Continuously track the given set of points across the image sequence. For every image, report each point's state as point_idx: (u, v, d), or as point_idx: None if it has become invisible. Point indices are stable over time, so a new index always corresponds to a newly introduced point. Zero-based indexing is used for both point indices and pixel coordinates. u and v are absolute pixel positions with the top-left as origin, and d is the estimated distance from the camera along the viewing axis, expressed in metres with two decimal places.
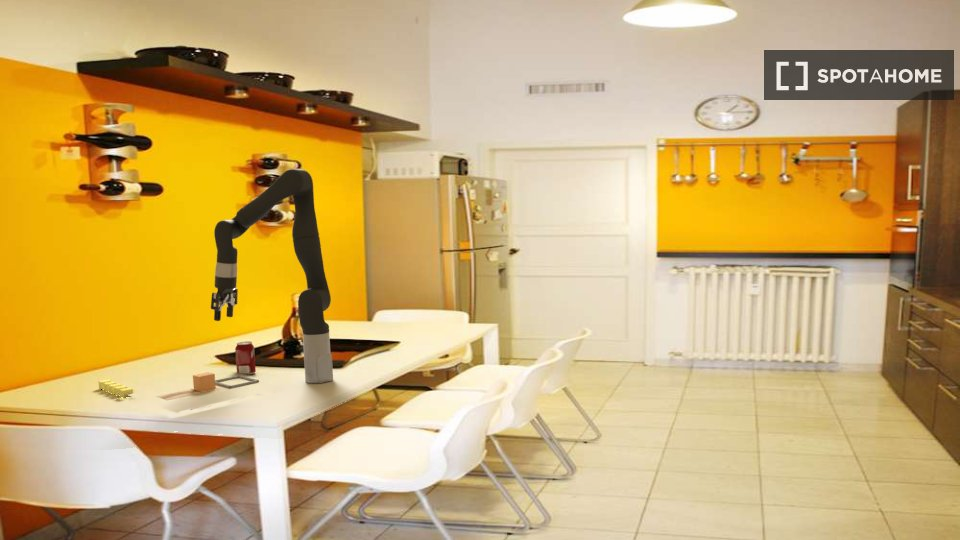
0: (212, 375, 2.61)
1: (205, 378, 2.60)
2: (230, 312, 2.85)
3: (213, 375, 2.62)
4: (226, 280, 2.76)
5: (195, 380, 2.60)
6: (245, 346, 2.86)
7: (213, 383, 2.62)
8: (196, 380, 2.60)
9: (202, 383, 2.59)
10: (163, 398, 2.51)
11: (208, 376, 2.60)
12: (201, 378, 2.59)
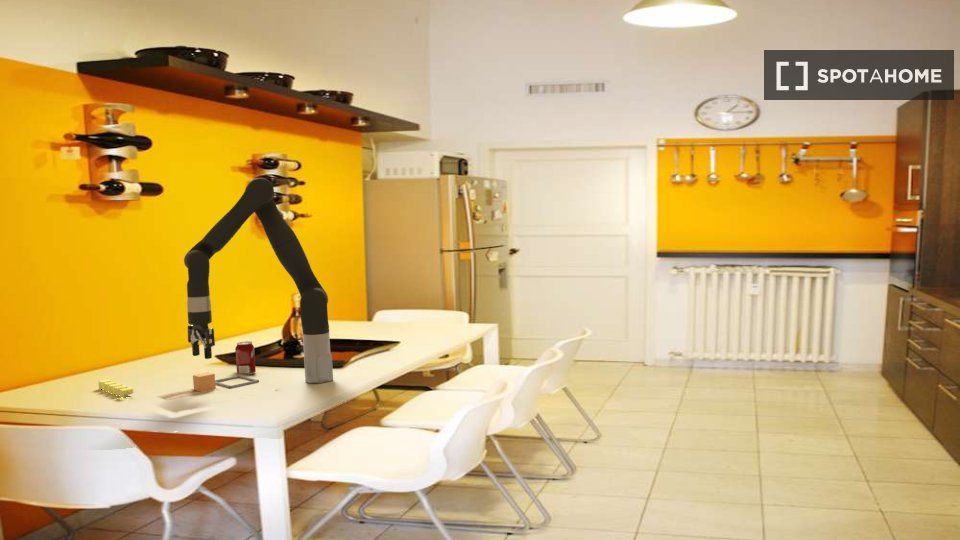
0: (212, 375, 2.61)
1: (205, 378, 2.60)
2: (197, 350, 2.64)
3: (213, 375, 2.62)
4: (209, 313, 2.59)
5: (195, 380, 2.60)
6: (245, 346, 2.86)
7: (213, 383, 2.62)
8: (196, 380, 2.60)
9: (202, 383, 2.59)
10: (163, 398, 2.51)
11: (208, 376, 2.60)
12: (201, 378, 2.59)
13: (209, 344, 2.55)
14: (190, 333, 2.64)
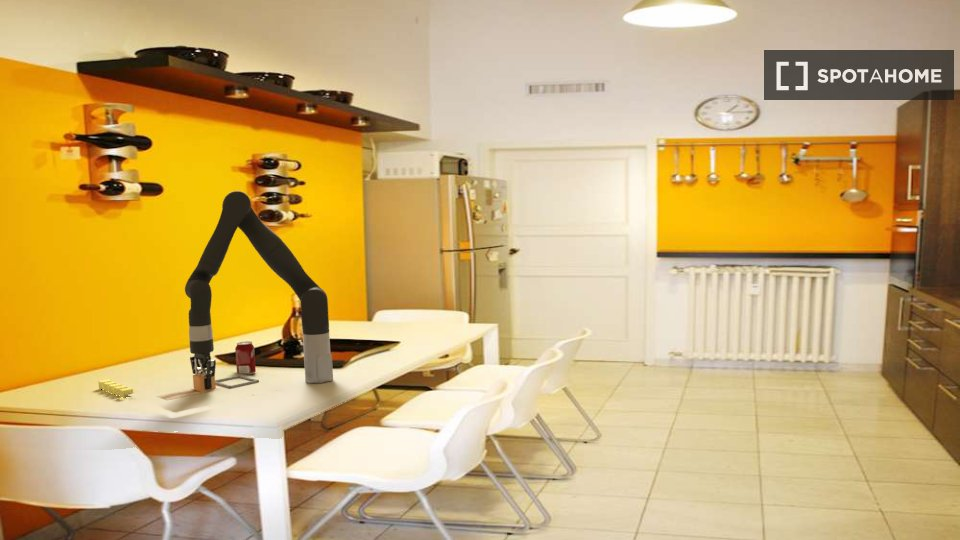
0: None
1: None
2: None
3: None
4: (211, 342, 2.60)
5: (195, 380, 2.60)
6: (245, 346, 2.86)
7: (213, 383, 2.62)
8: (196, 380, 2.60)
9: (202, 383, 2.59)
10: (163, 398, 2.51)
11: None
12: (201, 378, 2.59)
13: (209, 375, 2.57)
14: (193, 364, 2.64)
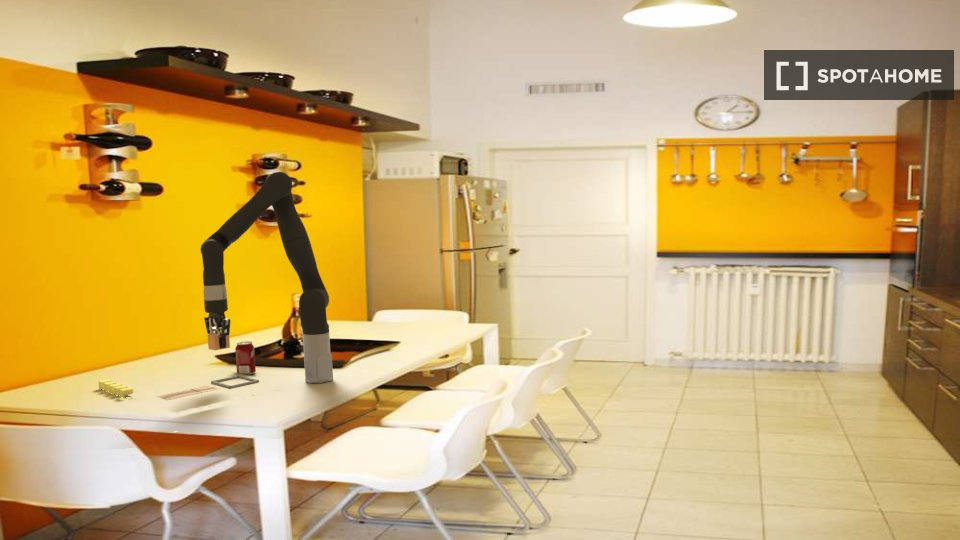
0: None
1: None
2: None
3: None
4: (225, 301, 2.63)
5: (210, 340, 2.63)
6: (245, 346, 2.86)
7: (227, 342, 2.65)
8: (210, 339, 2.63)
9: (216, 342, 2.62)
10: (163, 398, 2.51)
11: None
12: (216, 337, 2.62)
13: (224, 334, 2.60)
14: (208, 324, 2.67)
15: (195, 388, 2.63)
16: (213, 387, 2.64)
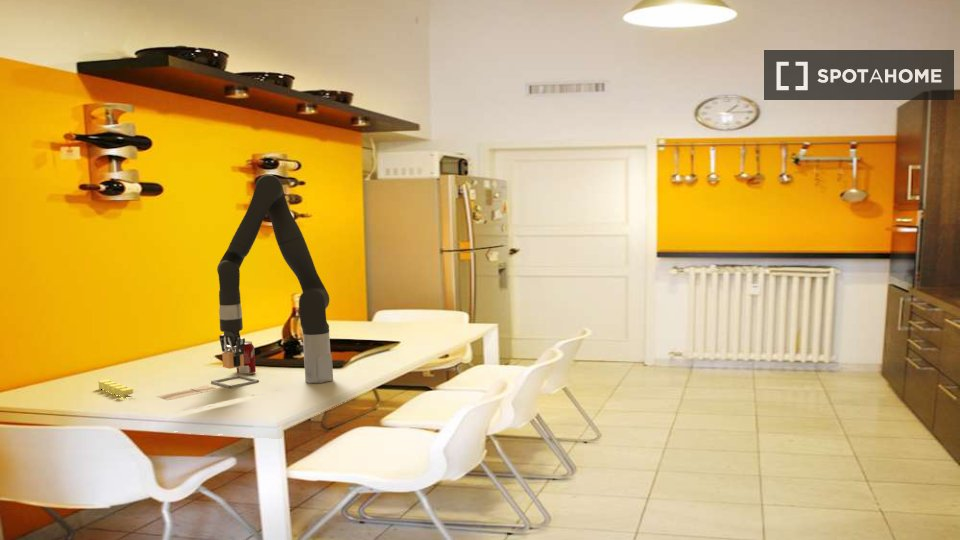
0: None
1: None
2: None
3: None
4: (240, 321, 2.68)
5: (224, 358, 2.68)
6: (245, 346, 2.86)
7: (242, 361, 2.70)
8: (225, 358, 2.68)
9: (231, 361, 2.67)
10: (163, 398, 2.51)
11: None
12: (230, 356, 2.66)
13: (238, 352, 2.65)
14: (223, 342, 2.72)
15: (195, 388, 2.63)
16: (213, 387, 2.64)
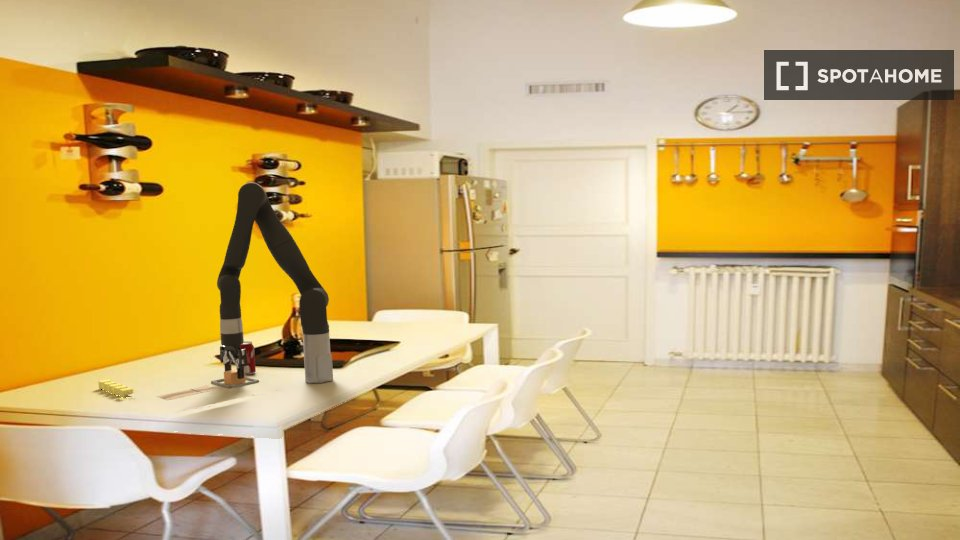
0: None
1: (236, 374, 2.68)
2: None
3: None
4: (241, 335, 2.68)
5: (226, 377, 2.68)
6: (245, 346, 2.86)
7: (243, 379, 2.70)
8: (226, 377, 2.68)
9: (232, 379, 2.67)
10: (163, 398, 2.51)
11: None
12: (232, 374, 2.67)
13: (242, 365, 2.64)
14: (222, 354, 2.73)
15: (195, 388, 2.63)
16: (213, 387, 2.64)
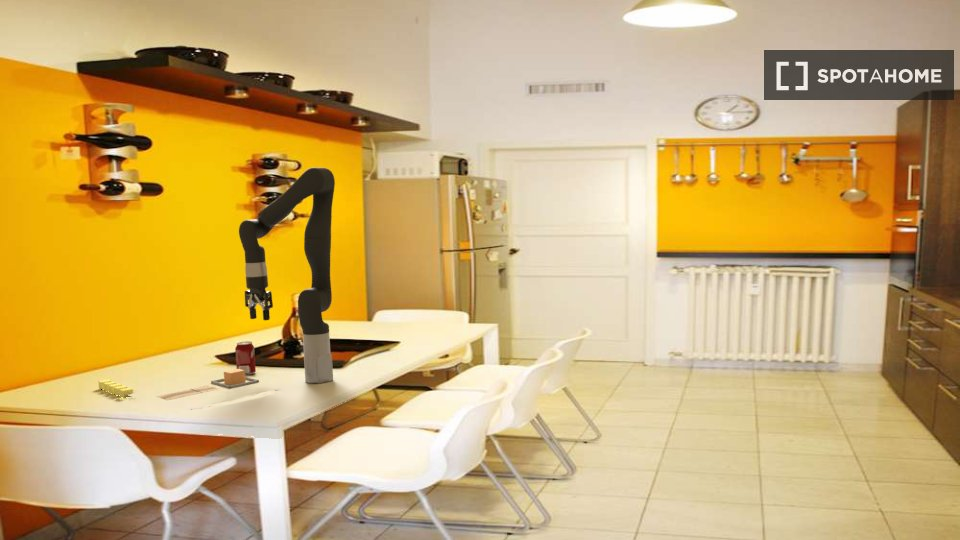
0: (242, 371, 2.70)
1: (236, 374, 2.68)
2: (254, 313, 2.83)
3: (243, 371, 2.70)
4: (266, 278, 2.78)
5: (226, 377, 2.68)
6: (245, 346, 2.86)
7: (243, 379, 2.70)
8: (226, 377, 2.68)
9: (232, 379, 2.67)
10: (163, 398, 2.51)
11: (239, 372, 2.69)
12: (232, 374, 2.67)
13: (268, 306, 2.74)
14: (247, 298, 2.82)
15: (195, 388, 2.63)
16: (213, 387, 2.64)
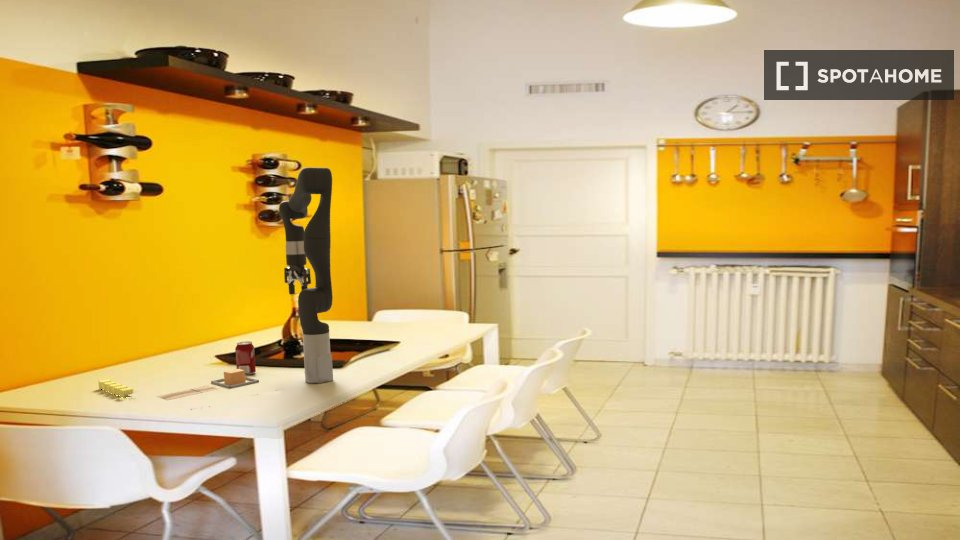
0: (242, 371, 2.70)
1: (236, 374, 2.68)
2: (293, 289, 3.00)
3: (243, 371, 2.70)
4: (305, 256, 2.95)
5: (226, 377, 2.68)
6: (245, 346, 2.86)
7: (243, 379, 2.70)
8: (226, 377, 2.68)
9: (232, 379, 2.67)
10: (163, 398, 2.51)
11: (239, 372, 2.69)
12: (232, 374, 2.67)
13: (306, 282, 2.91)
14: (286, 274, 3.00)
15: (195, 388, 2.63)
16: (213, 387, 2.64)
